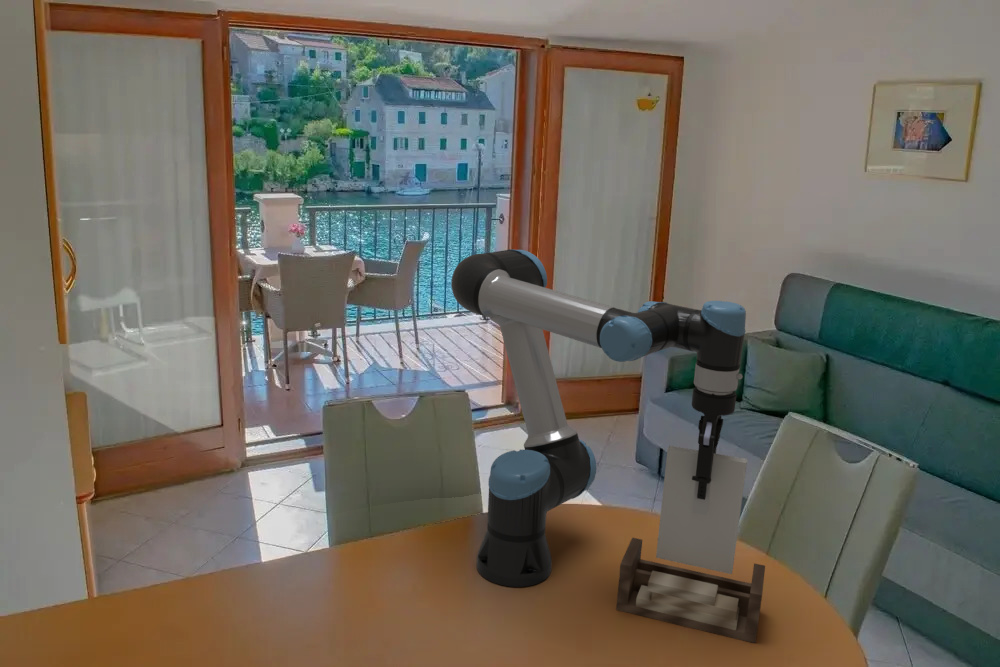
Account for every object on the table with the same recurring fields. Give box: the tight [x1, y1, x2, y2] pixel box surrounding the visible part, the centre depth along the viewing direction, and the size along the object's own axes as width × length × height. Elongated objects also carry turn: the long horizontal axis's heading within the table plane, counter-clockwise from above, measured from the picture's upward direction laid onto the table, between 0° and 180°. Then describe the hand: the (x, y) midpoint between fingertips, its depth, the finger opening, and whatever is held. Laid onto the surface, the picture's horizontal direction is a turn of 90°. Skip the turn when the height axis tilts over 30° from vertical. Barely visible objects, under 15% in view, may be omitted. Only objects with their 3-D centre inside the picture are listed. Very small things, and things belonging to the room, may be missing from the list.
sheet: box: [655, 445, 748, 575], centre depth 151 cm, size 14×2×22 cm, turn 70°
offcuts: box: [636, 571, 739, 630], centre depth 150 cm, size 18×5×5 cm, turn 70°
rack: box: [615, 537, 766, 644], centre depth 153 cm, size 25×11×10 cm, turn 70°
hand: (700, 509), depth 151 cm, fingers closed on sheet, 2 cm apart
